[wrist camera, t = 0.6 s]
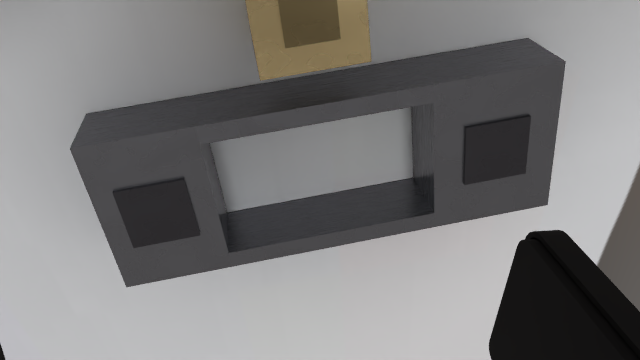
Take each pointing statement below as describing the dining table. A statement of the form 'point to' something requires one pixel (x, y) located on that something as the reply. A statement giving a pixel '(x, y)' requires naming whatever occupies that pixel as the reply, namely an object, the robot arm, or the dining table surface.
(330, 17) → the brass block
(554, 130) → the grey slotted block
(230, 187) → the dining table surface
